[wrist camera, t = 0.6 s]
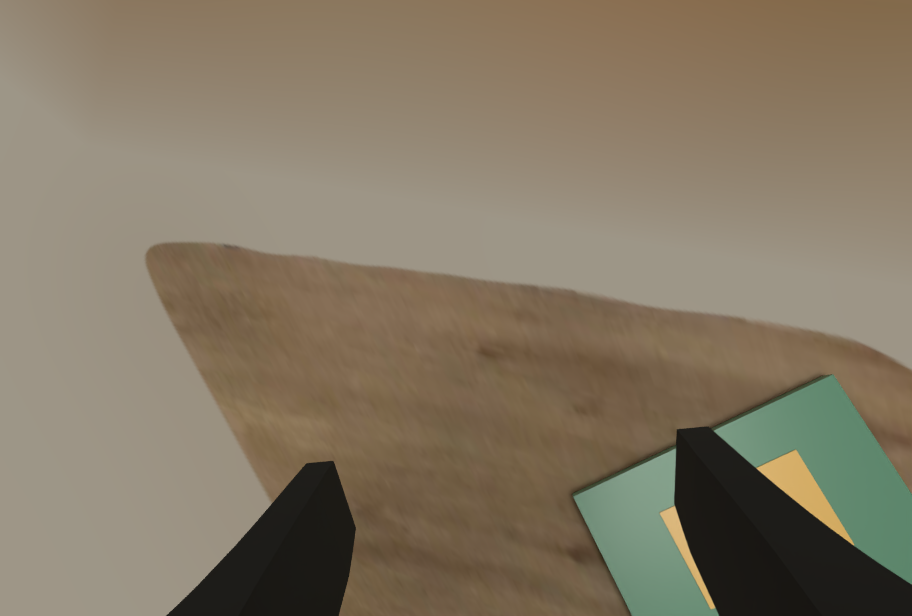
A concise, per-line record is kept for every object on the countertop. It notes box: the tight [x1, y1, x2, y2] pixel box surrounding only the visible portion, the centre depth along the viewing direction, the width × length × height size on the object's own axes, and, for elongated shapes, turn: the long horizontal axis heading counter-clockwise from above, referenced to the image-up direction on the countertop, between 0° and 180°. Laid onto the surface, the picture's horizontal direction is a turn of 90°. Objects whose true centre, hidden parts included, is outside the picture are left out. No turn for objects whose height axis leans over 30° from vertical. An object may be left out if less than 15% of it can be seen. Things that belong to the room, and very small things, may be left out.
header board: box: [572, 374, 912, 616], centre depth 32 cm, size 12×18×4 cm, turn 115°
